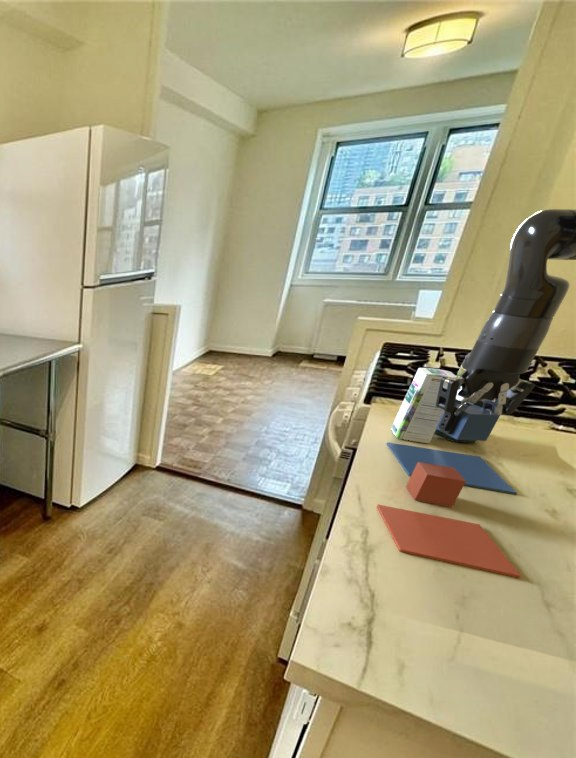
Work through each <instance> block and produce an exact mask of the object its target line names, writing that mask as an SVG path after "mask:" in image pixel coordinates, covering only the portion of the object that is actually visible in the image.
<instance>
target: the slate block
mask: <svg viewBox="0 0 576 758" xmlns="http://www.w3.org/2000/svg"><path fill="white" fill-rule="evenodd" d="M459 405H460V404H458V405H457V406H456V407H458V406H459ZM444 414H445V411H444V412H443V414H442V417H441V419H440V421H439V423H438V425H437V427H436V429H438V430H439V424H440V422H441V420H442V418H443V416H444ZM459 416H461V417H460V419H459V421H458V423H457V425H456V427H455V429H454V431H453V433H452V434H447V435H449V436H451V437H453V438H455V439H457V440H475V441H476V442H486V441H488V439H489V437H490V435H491V433H492V431H493V430H494V428H495V426H496V424H497V423H498V420H499V418H500V417H501V415H498V414H496V413H493V412H491V411H489V410H486V409H484V408H482V407H479V406H477V405H472V406H469V407H468V408H467V409H466V410H465V411H464V412H463V413H462V414H461V415H459ZM441 432H442V431H441ZM443 433H444V432H443Z"/></svg>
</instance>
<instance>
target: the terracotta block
mask: <svg viewBox="0 0 576 758" xmlns="http://www.w3.org/2000/svg"><path fill="white" fill-rule="evenodd" d="M465 482H466V481H465V480H464V478H463V477H462V476H461V475H460V474H459V473H458V472H457V470H456V469H455V468H451V467H445V466H439V465H433V464H427V463H421V462H418V463H417V465H416V467H415V469H414V471H413V473H412V475H411V476H409V480H408V481H407V483H406V489H407V490H408V492H409V494H410V495H411V497H412V499H413V500H414V501H417V502H422V503H428V504H432V505H438V506H443V507H448V508H453V506H454V504H455V503H456V501H457V499H458V497H459V495H460V494H461V492H462V490H463V488H464V487H465V486H464V484H465Z"/></svg>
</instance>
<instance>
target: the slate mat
mask: <svg viewBox="0 0 576 758" xmlns="http://www.w3.org/2000/svg"><path fill="white" fill-rule="evenodd" d="M386 445H387V447H388V446H389V447H388V448H389V450H390V449H391V450H390V451H391V453H392V454H393V455H394V457H395V458H396V461H398V463H399V465H400V466H401V467H402V469H403V470H404V471H405V473H406V474H407V476H408V477H411V475H412V473H413V471H414V469H415V467H416V465H417V463H418V462H421V463H427V464H433V465H439V466H445V467H451V468H455V469H456V470H457V472H458V473H459V474H460V475H461V476H462V477H463V478H464V480H465V481H466V482H465V484H464V486H463V487H469V488H476V489H482V490H489V491H493V492H499V493H506V494H511V495H517V494H518V492H517V491H516V490H515V489H514V488H513V487H512V486H511V485H510V484H509V483H508V482H507V481H506V480H505V479H504V478H503V477H501V476H500V475H499V474H498V472H496V471H495V469H493V468H492V467H491V466H490V465H489V464H488V463H487V462H486V461H485V460H484V459H483V457H481V456H478V455H474V454H473V455H472V454H466V453H460V452H455V451H447V450H439V449H435V448H434V449H433V448H428V447H422V446H421V447H420V446H414V445H409V444H401V443H394V442H388V441H387V442H386Z"/></svg>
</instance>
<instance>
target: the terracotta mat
mask: <svg viewBox="0 0 576 758" xmlns="http://www.w3.org/2000/svg"><path fill="white" fill-rule="evenodd" d="M376 508H377V510H378V511H379V514H380V516H381V517H382V520H383V521H384V524H385V526H386V528H387V530H388V531H389V533H390V535H391V537H392V539H393V541H394V543H395V544H396V547H397V549H398V551H399V552H400V553H405V554H410V555H413V556H414V555H415V556H419V557H422V558H427V559H432V560H437V561H441V562H445V563H450V564H454V565H460V566H463V567H468V568H473V569H477V570H482V571H486V572H490V573H495V574H500V575H504V576H509V577H512V578H517V579H520V578H521V577H522V575H521V574H520V573H519V571H518V570H517V568H515V566H514V565H513V564H512V563H511V562H510V560H509V559H508V558H507V557H506V555H505V554H504V553H503V552H502V550H501V549H500V548H499V547H498V545H497V544H496V543H495V542H494V540H493V539H492V538H491V537H490V535H489V534H488V533H487V532H486V530H484V528H483V527H482V526H481V524H480V523H475V522H470V521H465V520H459V519H456V518H455V519H454V518H451V517H444V516H439V515H434V514H428V513H423V512H420V511H419V512H418V511H414V510H408V509H403V508H398V507H394V506H389V505H383V504H376Z"/></svg>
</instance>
